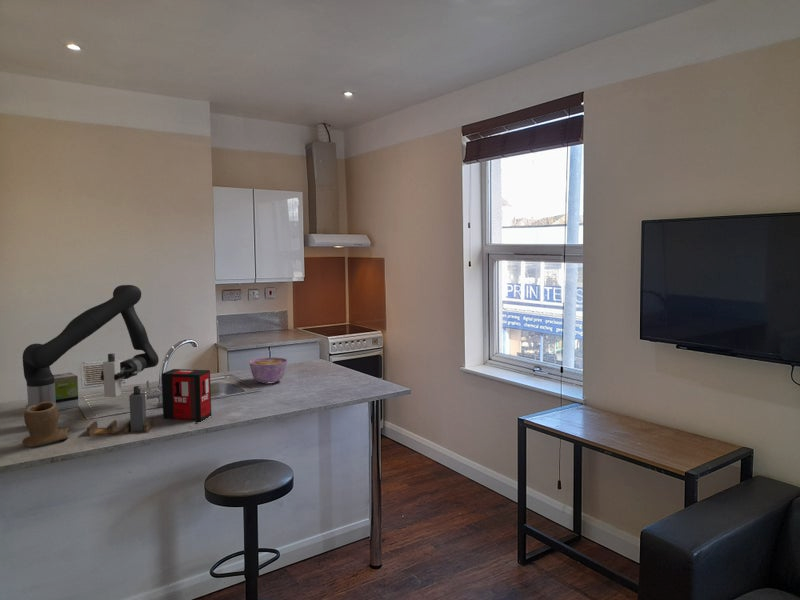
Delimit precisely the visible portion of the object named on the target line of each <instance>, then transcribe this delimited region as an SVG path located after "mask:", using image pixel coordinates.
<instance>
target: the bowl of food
mask: <svg viewBox="0 0 800 600" xmlns="http://www.w3.org/2000/svg"><path fill="white" fill-rule="evenodd" d="M248 364H249V368H250V372H251V375H252V377H253V379H254V380H255V381H257V382H258V383H261V382H264V383H268V382H276V381H277V382H279V381H280V380H282V379H283V377H284V376H285V373H286V368H287V365H288V359H286V358H284V357H277V356H276V357H274V356H273V357H260V358H259V357H258V358H255V359H251V360H249V362H248ZM277 382H276V383H277Z"/></svg>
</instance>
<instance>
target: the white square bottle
mask: <svg viewBox="0 0 800 600" xmlns="http://www.w3.org/2000/svg"><path fill="white" fill-rule="evenodd" d="M115 356H116V355H115V353H108V354H107V360H106V361H103V362H102V371H103V375H104V380H103V391H104V397H105V398H113V397H114V398H117V397H119V396H120V395H122V380H121V378H120V379H118V380H114V375H115V374H117V373H120V362H121V360H120V359H119V360H118V359H116V357H115Z"/></svg>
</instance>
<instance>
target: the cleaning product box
mask: <svg viewBox="0 0 800 600" xmlns="http://www.w3.org/2000/svg"><path fill="white" fill-rule="evenodd" d="M161 392H162V416H163V417H162V419H164V420H181V421H183V420H185V421H195V422H201V421H203V420H205V419H206V418H208V417H209V416H211V417H212V398H211V397H212V396H211V395H212V394H211V393H212V391H211V370H210V369H182V368H181V369H180V368H173V369H169V370H168V371H165V372H162V373H161ZM208 419H209V418H208ZM206 420H207V419H206ZM206 420H205V421H206ZM203 422H204V421H203Z"/></svg>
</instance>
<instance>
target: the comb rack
mask: <svg viewBox="0 0 800 600" xmlns="http://www.w3.org/2000/svg"><path fill="white" fill-rule="evenodd" d="M154 426H155V424H153V418H152V417H149V418H148V420H146V423H145V424H144V431H135V432H131V423H130V419H129V420H128V421H127V423H125V424H124V426H118V421H117V420H116V419H115V420H112V422H111V423H109V424H108V426H106V427H98V421H93V422H92V423H91V424H90V425H89V426H88V427H86V435H85V436H84V437H85V438H89V437H104V436H105V437H107V436H108V437H109V436H123V435H125V436H126V435H138V434H141V435H142V434H149V433H150V431H151V430H152V429H153V427H154Z"/></svg>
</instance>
